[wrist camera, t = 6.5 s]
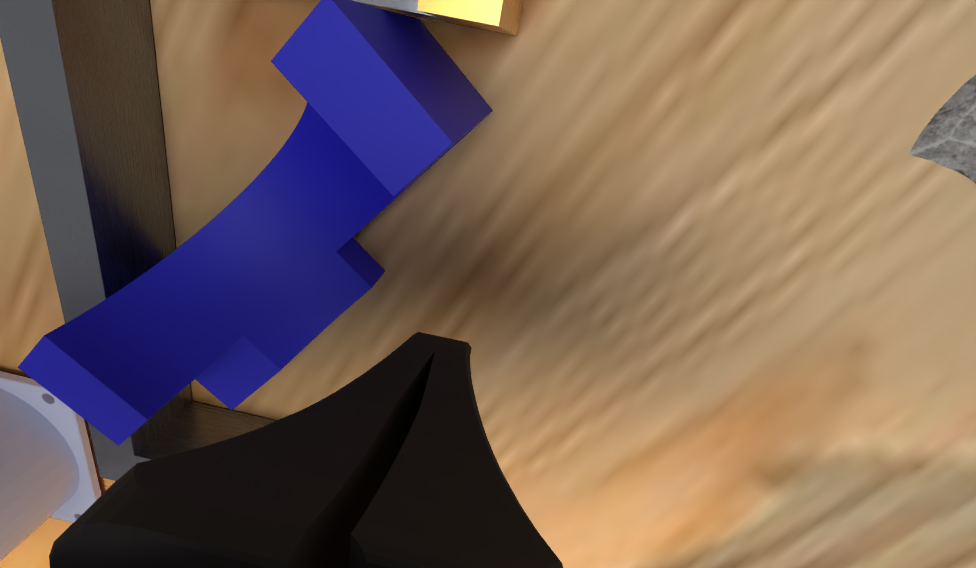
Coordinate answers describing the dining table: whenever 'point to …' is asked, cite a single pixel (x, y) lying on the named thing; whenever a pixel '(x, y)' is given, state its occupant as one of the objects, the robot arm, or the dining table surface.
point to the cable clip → (273, 229)
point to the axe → (952, 133)
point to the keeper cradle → (126, 169)
